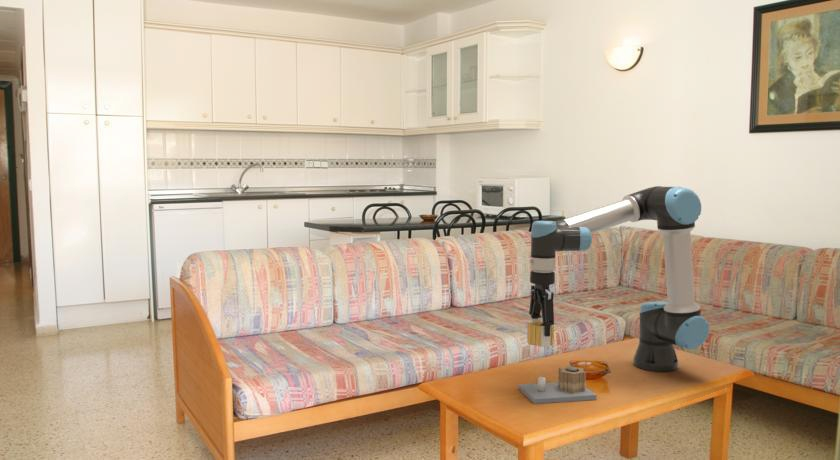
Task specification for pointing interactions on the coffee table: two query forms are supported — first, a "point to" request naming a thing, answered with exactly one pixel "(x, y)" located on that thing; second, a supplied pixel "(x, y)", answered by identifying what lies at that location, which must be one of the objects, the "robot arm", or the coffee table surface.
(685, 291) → the robot arm
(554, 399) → the gear board
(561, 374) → the gear
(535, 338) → the ochre gear
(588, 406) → the coffee table surface
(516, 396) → the coffee table surface
